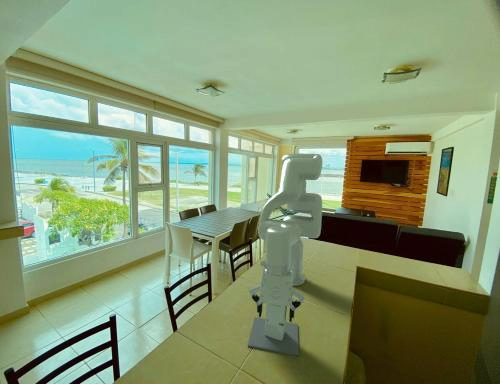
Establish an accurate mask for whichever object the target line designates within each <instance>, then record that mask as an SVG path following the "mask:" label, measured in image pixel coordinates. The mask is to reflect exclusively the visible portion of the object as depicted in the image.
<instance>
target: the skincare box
mask: <svg viewBox="0 0 500 384" xmlns="http://www.w3.org/2000/svg"><path fill="white" fill-rule="evenodd" d="M265 304H266V306H265V307H266V308H265V319H266V320H265V335H266V336H268V337H271V338H274V339H277V340H280V341H282V340H283V336H284V333H285V324H286V322H287V307H288V306H280V305H273V304H267V303H265Z"/></svg>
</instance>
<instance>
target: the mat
mask: <svg viewBox="0 0 500 384" xmlns="http://www.w3.org/2000/svg"><path fill="white" fill-rule="evenodd" d="M265 320H266V318H263V317H259V316H254V318H253V323H252V327H251V331H250V335H249V338H248V339H249V340H248V344H247V347H248V348H254V349H259V350H263V351H268V352H269V351H270V352H272V353H273V352H274V353H279V354H286V355H290V356H294V357H299V354H300V353H299V329H298V323H295V322H290V321H289V322H288V321H286V324H285V333H284V336H283V340H282V341H280V340H277V339H274V338H271V337H268V336H266V335H265Z"/></svg>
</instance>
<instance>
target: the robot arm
mask: <svg viewBox="0 0 500 384" xmlns="http://www.w3.org/2000/svg"><path fill="white" fill-rule="evenodd" d="M281 166H282V167H281V172H280V177H279V182H278V186H277V187H278V188H277V192H276V193H274V194H273V196H271V197H269V199H268V200H267V201H266V203H265V204H264V205H263V207H262V210H261V212H260V217H259V222H258V226H257V227H258V228H257V235H258V238H260V240H262V241H265V260H263V261H262V260H261V261H260V266H261V267H263V269H262V271H261V275H260V284H258V285H255V286H252V287H250V288H249V290H248V292H249V294H250V296H251V299H252V300H253V301H254V302H255V304H256V313H258V318H262V314H263V304H273V305H280V306H287V307H289V312H288V313H289V314H288V315H289V318H288V319H289V323H293V321H292V320H293V319H295V311H296V309H298V308H299V307H300V306H302V303H303V302H304V300H305V294H302V293H301V292H300V291H298V290H296V289H294V286H295V287H296V286H301V285H303V284H304V283H305V281H306V278H305V275H303V261H304V243H303V241H302V238H308V239H309V238H310V239H317V238H319V237H320V235H321V230H322V220H323V219H322V217H323V198H322V196H321V195H320V194H318V193H316V192H315V193H313V192H307V181H317V180H319V178H320V177H321V174H322V173H321V172H322V169H323V168H322V167H323V157H322V156H321V154H319V153H300V152H299V153H297V152H295V153H293V152H292V153H286V154H284V155H283V156H282V157H281ZM285 205H286V209H287V210H288V211H289V212H293V213H298V214H299V213H300V214H309V215H310V216H306V215H296V214H288V215H285V216H284V217H283V218H282V220H281V219H272V218H271V215H272V213H273V212H274V211H275V210H276V209H278V208H279V207H282V206H285ZM301 237H302V238H301ZM256 292H259V295H258V294H257V293H256ZM294 297H296V298H297V299H295V300H294Z"/></svg>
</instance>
